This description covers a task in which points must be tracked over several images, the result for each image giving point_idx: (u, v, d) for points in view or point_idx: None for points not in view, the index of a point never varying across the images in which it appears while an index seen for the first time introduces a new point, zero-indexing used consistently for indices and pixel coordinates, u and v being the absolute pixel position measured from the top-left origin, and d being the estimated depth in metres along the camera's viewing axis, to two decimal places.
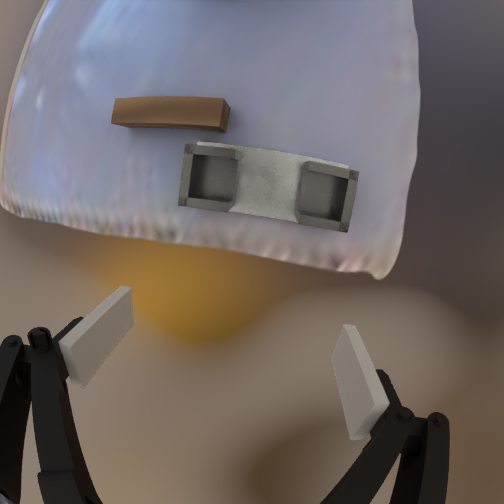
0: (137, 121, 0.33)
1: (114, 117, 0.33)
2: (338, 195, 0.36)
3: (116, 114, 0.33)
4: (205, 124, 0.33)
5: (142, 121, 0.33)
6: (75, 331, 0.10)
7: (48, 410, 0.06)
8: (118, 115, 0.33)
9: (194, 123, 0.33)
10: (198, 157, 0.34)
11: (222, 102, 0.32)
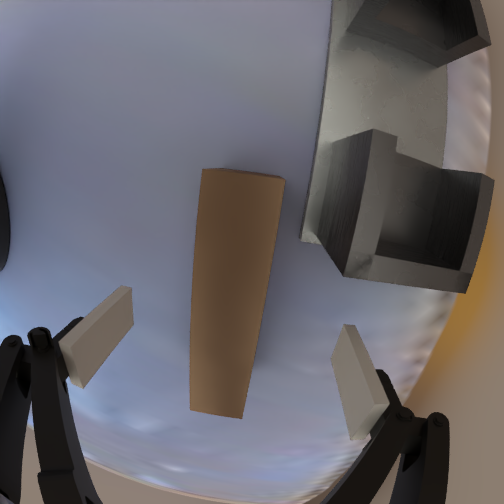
0: (247, 377, 0.16)
1: (230, 413, 0.18)
2: None
3: (224, 410, 0.17)
4: (276, 217, 0.13)
5: (249, 368, 0.16)
6: (75, 331, 0.10)
7: (48, 410, 0.06)
8: (227, 407, 0.17)
9: (271, 248, 0.14)
10: None
11: (213, 172, 0.13)
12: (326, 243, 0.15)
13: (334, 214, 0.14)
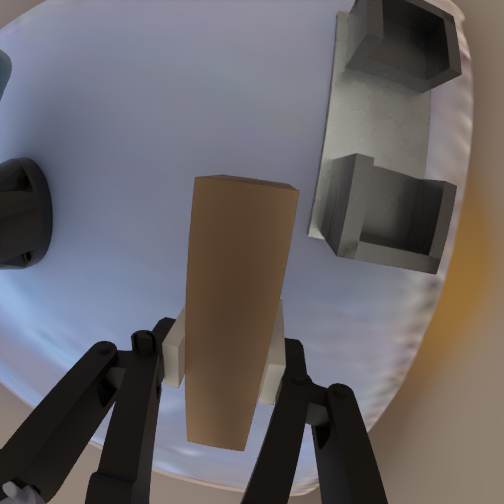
0: (250, 413, 0.14)
1: (231, 446, 0.15)
2: (395, 21, 0.14)
3: (224, 443, 0.15)
4: (287, 238, 0.11)
5: (252, 404, 0.13)
6: (175, 331, 0.12)
7: (131, 416, 0.07)
8: (227, 441, 0.15)
9: (280, 275, 0.11)
10: None
11: (208, 181, 0.10)
12: (327, 236, 0.20)
13: (332, 214, 0.19)
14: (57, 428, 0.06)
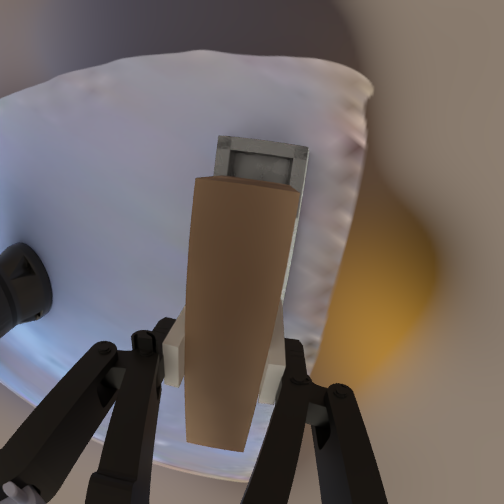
0: (249, 414, 0.14)
1: (230, 447, 0.15)
2: (259, 155, 0.26)
3: (224, 444, 0.15)
4: (288, 240, 0.11)
5: (251, 406, 0.13)
6: (175, 331, 0.12)
7: (131, 416, 0.07)
8: (227, 441, 0.15)
9: (280, 277, 0.11)
10: None
11: (209, 182, 0.10)
12: None
13: None
14: (57, 428, 0.06)
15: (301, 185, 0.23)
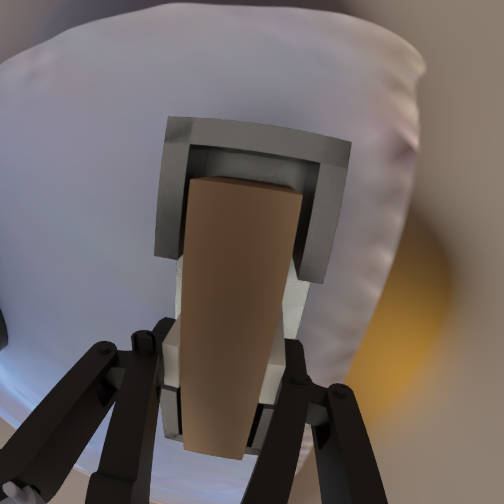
0: (248, 424, 0.13)
1: (228, 455, 0.14)
2: (252, 155, 0.14)
3: (222, 452, 0.14)
4: (289, 246, 0.10)
5: (250, 415, 0.13)
6: (175, 331, 0.12)
7: (131, 416, 0.07)
8: (225, 450, 0.14)
9: (281, 285, 0.10)
10: None
11: (205, 183, 0.09)
12: None
13: None
14: (57, 428, 0.06)
15: (334, 220, 0.11)
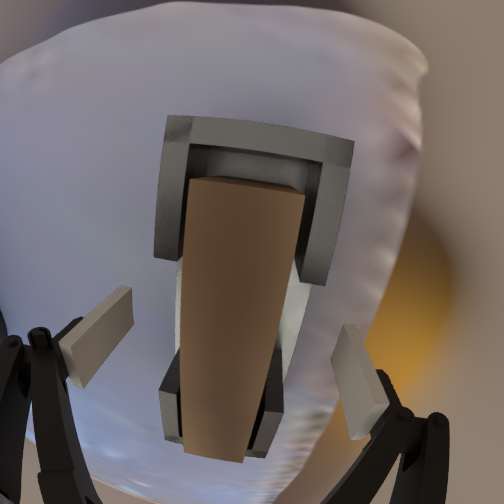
0: (249, 427, 0.13)
1: (229, 458, 0.14)
2: (253, 154, 0.14)
3: (222, 455, 0.14)
4: (291, 247, 0.10)
5: (251, 419, 0.12)
6: (75, 331, 0.10)
7: (48, 410, 0.06)
8: (225, 453, 0.14)
9: (283, 287, 0.10)
10: None
11: (204, 183, 0.09)
12: None
13: None
14: None
15: (337, 221, 0.11)
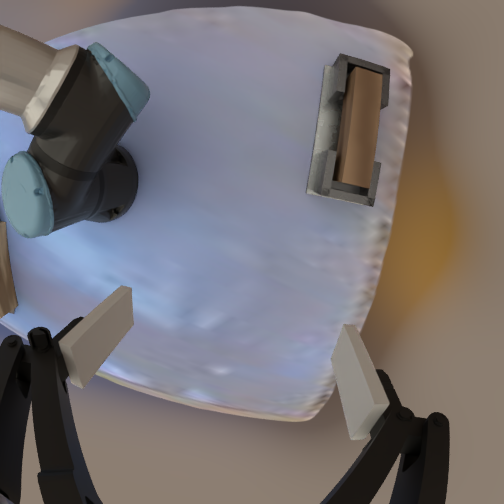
0: (373, 153, 0.32)
1: (363, 183, 0.33)
2: None
3: (361, 180, 0.33)
4: (380, 86, 0.29)
5: (374, 148, 0.32)
6: (75, 331, 0.10)
7: (48, 410, 0.06)
8: (362, 177, 0.33)
9: (380, 95, 0.29)
10: None
11: (359, 68, 0.28)
12: (316, 190, 0.40)
13: (318, 179, 0.39)
14: None
15: (388, 88, 0.30)
